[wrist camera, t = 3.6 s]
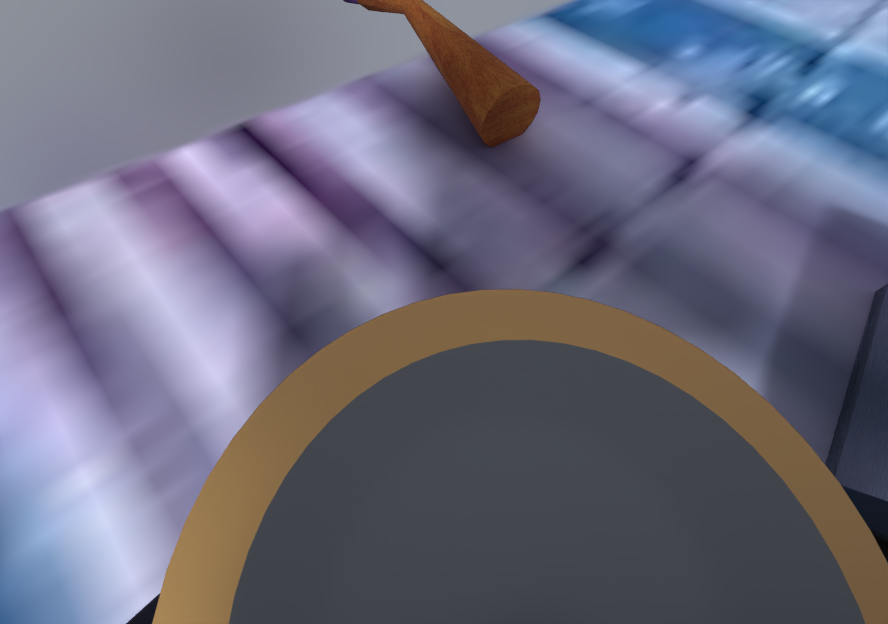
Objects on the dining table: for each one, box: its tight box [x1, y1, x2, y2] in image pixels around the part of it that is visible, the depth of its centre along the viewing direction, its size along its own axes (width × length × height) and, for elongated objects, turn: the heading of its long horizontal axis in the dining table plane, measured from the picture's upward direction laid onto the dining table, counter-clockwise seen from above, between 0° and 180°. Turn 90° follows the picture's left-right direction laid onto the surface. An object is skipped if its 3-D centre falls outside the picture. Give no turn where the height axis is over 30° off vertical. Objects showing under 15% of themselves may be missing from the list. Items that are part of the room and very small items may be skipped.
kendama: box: [344, 0, 541, 147], centre depth 25 cm, size 6×6×20 cm
